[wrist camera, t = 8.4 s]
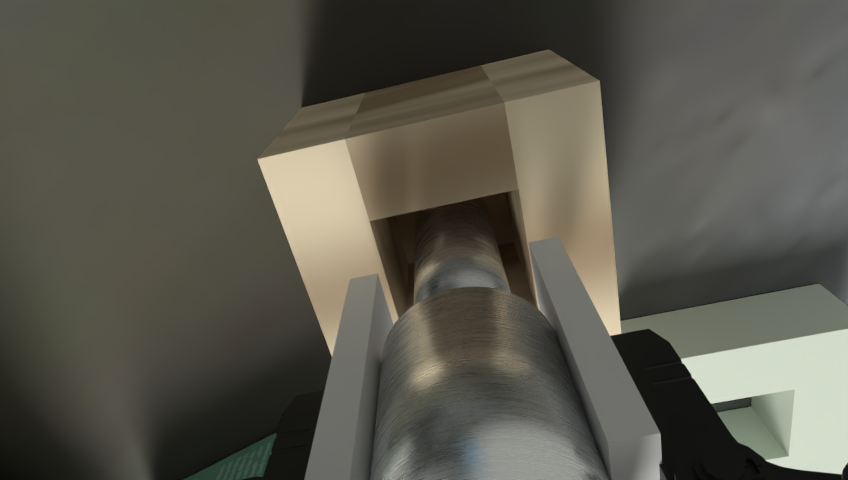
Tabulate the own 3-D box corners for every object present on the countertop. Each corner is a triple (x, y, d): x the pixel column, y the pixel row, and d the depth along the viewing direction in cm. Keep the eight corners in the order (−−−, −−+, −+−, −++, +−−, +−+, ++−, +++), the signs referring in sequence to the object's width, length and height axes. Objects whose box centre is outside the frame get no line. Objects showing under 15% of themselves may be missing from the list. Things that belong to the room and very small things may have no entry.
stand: (605, 323, 24) (629, 368, 21) (819, 283, 23) (871, 324, 21) (620, 466, 28) (641, 519, 25) (803, 436, 27) (845, 487, 25)
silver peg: (383, 178, 19) (310, 592, 6) (498, 153, 19) (662, 539, 6) (410, 277, 21) (396, 755, 8) (516, 256, 20) (672, 722, 8)
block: (301, 107, 20) (257, 159, 15) (548, 49, 19) (599, 80, 14) (367, 311, 24) (352, 411, 18) (575, 269, 23) (623, 362, 18)
